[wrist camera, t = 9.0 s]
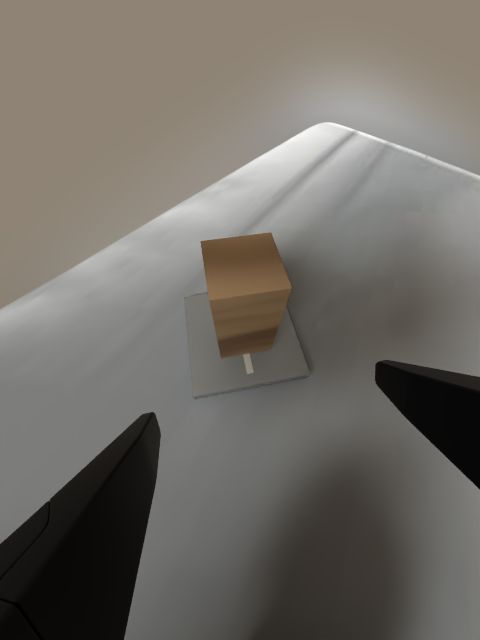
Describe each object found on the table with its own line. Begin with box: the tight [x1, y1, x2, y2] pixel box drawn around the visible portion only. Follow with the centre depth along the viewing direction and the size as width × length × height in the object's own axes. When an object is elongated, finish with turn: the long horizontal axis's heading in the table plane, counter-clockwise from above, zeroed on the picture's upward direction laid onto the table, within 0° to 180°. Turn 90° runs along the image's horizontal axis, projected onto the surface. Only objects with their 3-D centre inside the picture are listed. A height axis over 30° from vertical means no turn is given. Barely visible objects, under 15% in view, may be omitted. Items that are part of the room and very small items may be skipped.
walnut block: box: [201, 233, 292, 359], centre depth 17 cm, size 4×4×9 cm
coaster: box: [184, 294, 310, 399], centre depth 21 cm, size 10×10×1 cm
